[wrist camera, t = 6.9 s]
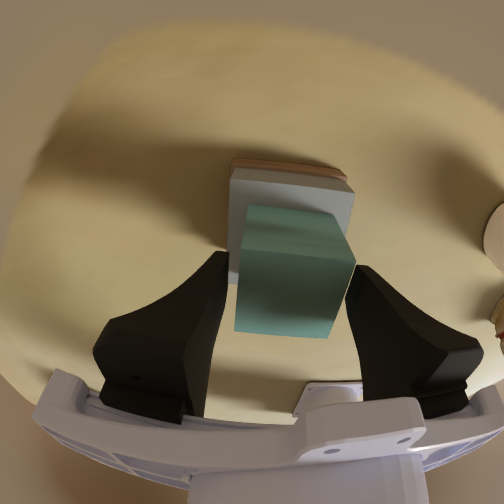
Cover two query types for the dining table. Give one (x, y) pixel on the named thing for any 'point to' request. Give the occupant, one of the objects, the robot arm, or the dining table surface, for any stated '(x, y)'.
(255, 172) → the tower top
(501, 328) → the chocolate bunny
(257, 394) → the dining table surface
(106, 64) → the dining table surface
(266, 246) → the teal block
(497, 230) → the can
